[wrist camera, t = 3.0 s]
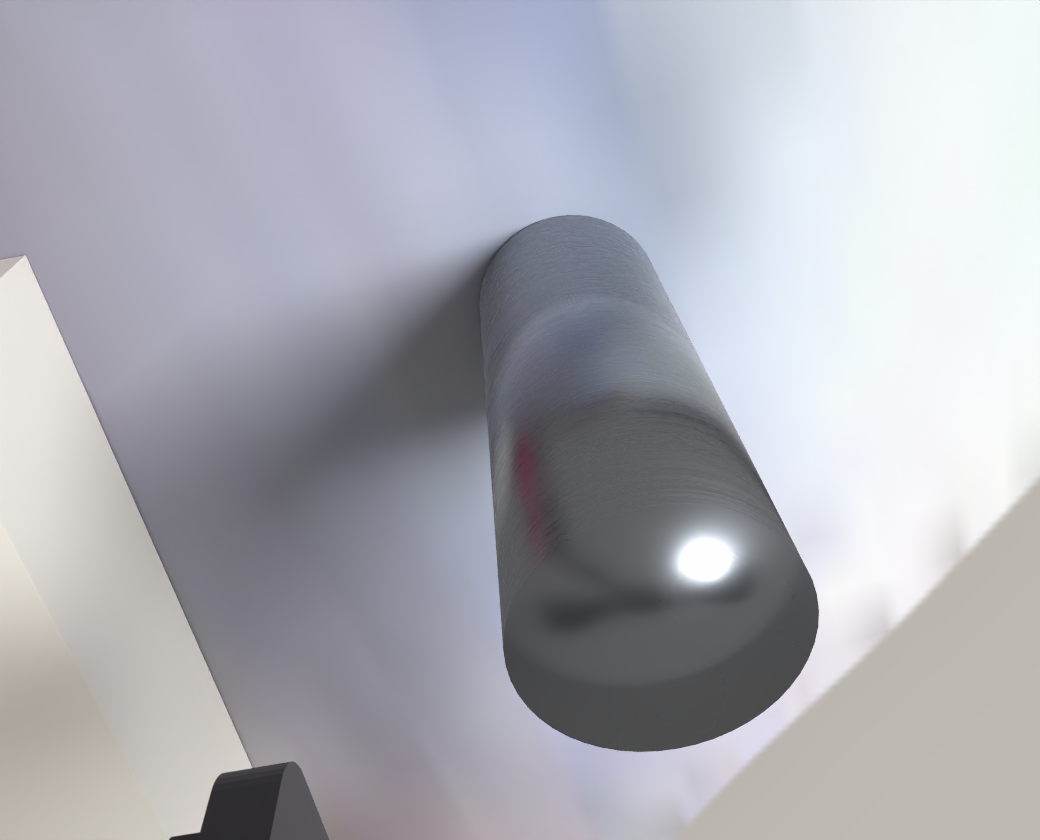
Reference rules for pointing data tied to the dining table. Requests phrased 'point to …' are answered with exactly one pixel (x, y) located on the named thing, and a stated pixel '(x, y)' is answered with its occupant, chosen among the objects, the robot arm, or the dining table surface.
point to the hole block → (88, 619)
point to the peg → (626, 506)
